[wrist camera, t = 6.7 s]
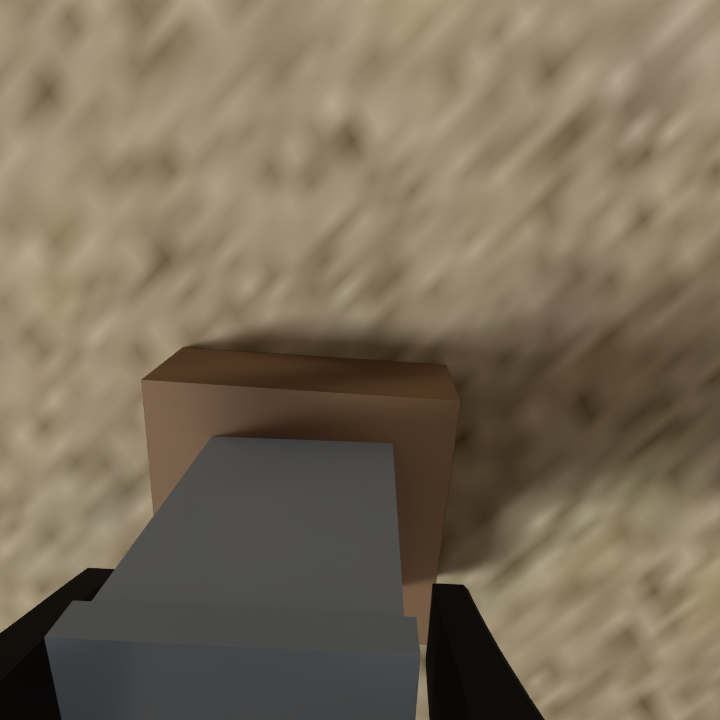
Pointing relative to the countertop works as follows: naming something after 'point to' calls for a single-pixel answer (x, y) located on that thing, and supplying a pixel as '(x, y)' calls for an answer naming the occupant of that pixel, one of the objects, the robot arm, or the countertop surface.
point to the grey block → (252, 596)
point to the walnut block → (317, 430)
